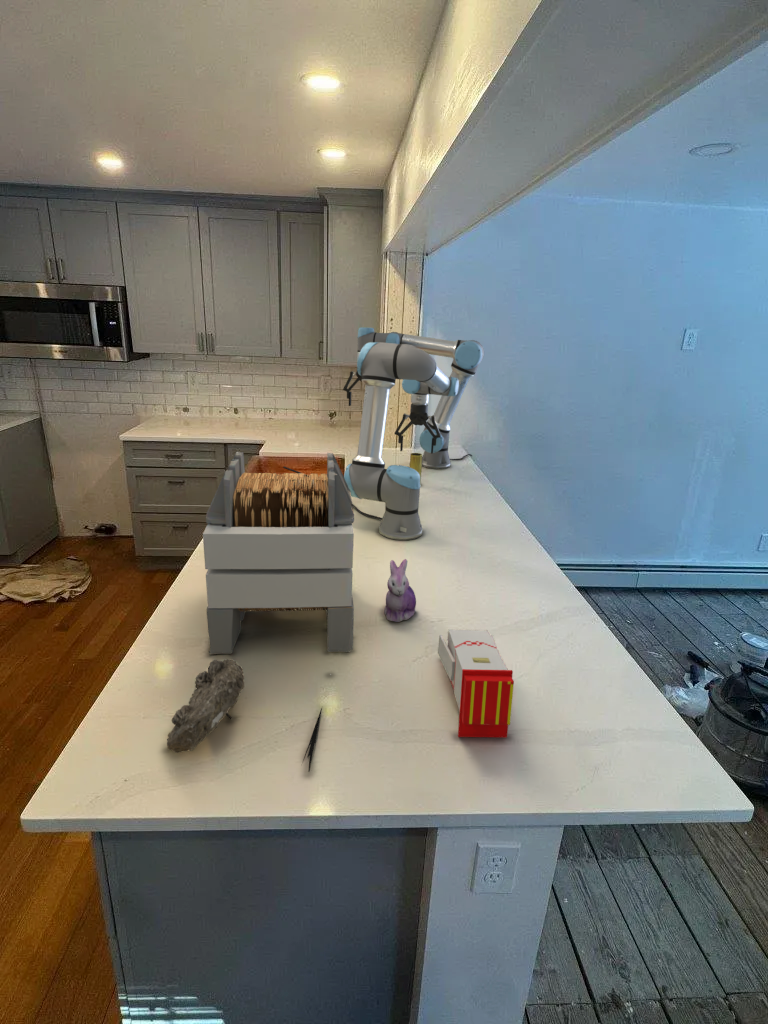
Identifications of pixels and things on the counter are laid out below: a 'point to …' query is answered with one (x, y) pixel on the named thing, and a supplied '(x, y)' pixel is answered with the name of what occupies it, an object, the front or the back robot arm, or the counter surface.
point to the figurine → (399, 594)
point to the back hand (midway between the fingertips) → (363, 406)
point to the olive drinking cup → (416, 463)
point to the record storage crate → (279, 550)
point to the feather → (313, 740)
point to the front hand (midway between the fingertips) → (416, 451)
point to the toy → (478, 682)
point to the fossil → (206, 705)
